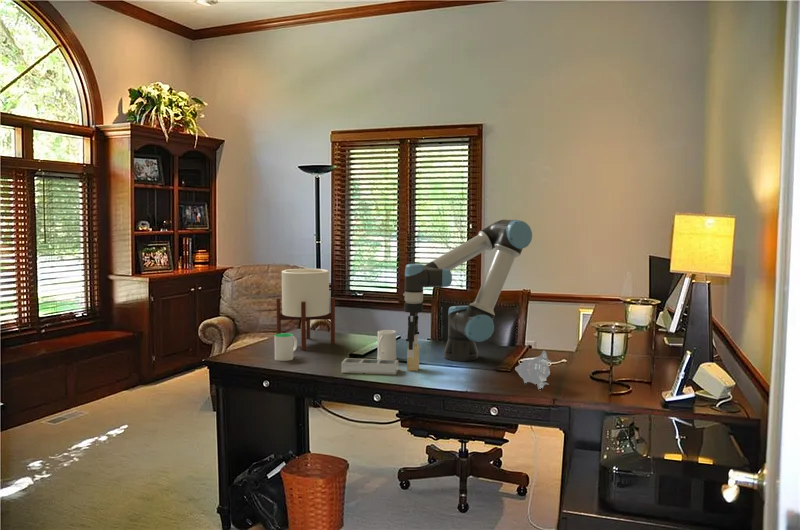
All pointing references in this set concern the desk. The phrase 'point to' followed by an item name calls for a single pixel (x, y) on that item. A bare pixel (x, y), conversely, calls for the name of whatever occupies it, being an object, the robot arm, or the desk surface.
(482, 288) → the robot arm
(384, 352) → the mug
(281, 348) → the mug
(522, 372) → the figurine
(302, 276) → the plant pot with stand
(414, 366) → the brass block
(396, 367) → the grey compartment tray
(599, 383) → the desk surface
